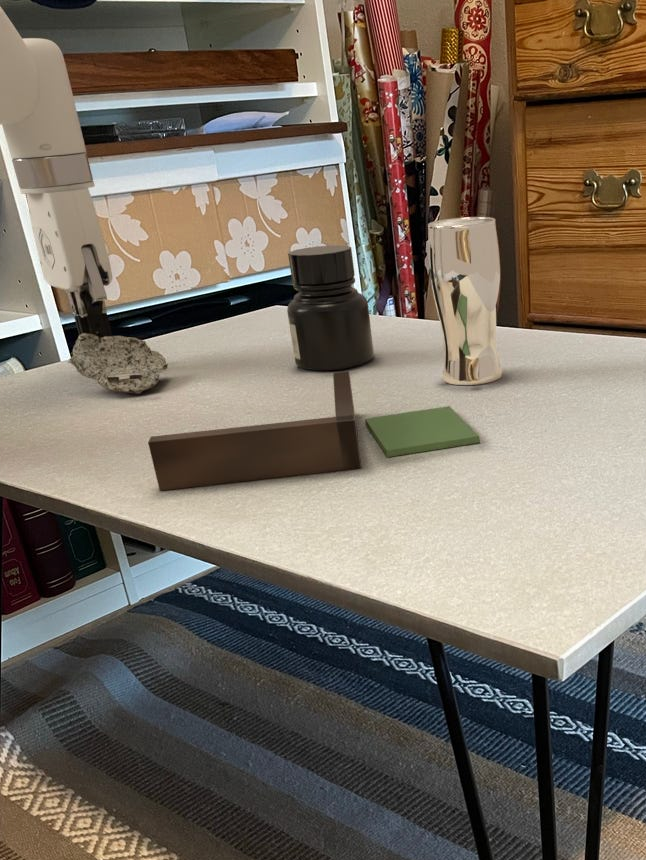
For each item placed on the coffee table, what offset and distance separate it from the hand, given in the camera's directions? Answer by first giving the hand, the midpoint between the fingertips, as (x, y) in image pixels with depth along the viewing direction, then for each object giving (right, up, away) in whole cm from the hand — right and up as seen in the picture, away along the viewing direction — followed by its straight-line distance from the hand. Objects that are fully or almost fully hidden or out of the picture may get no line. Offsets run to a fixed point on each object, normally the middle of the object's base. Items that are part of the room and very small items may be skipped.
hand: (99, 349), depth 113 cm
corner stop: (+25, -17, -28) cm, 41 cm away
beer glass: (+43, -7, -12) cm, 45 cm away
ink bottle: (+27, -2, -2) cm, 28 cm away
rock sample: (+6, -6, -5) cm, 10 cm away
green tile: (+39, -15, -27) cm, 50 cm away
